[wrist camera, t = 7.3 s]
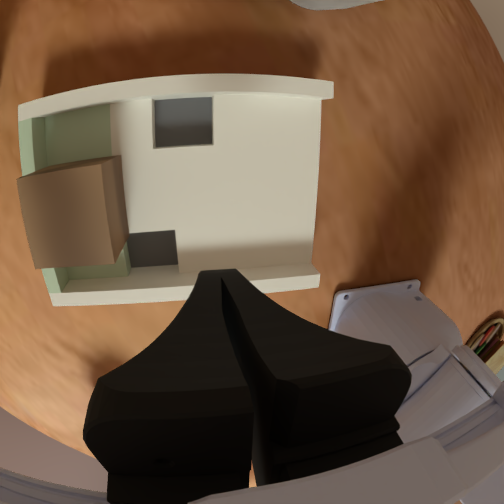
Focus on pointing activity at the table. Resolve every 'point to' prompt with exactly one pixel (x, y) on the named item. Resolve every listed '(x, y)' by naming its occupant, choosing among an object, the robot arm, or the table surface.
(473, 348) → the toy sandwich meal
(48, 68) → the table surface
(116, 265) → the tray
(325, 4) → the cup
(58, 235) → the block
